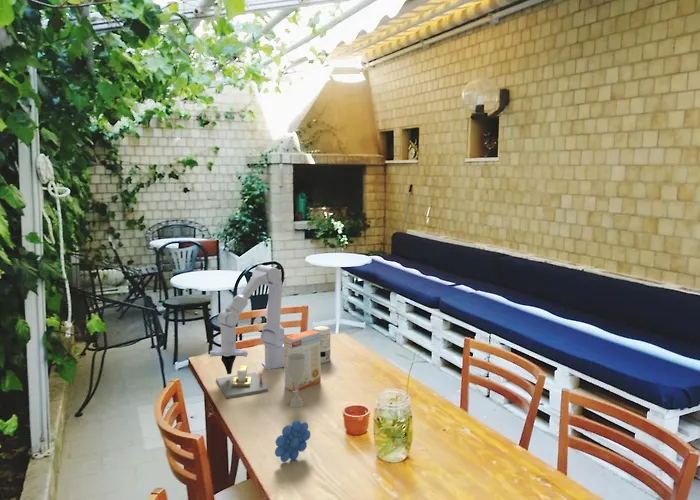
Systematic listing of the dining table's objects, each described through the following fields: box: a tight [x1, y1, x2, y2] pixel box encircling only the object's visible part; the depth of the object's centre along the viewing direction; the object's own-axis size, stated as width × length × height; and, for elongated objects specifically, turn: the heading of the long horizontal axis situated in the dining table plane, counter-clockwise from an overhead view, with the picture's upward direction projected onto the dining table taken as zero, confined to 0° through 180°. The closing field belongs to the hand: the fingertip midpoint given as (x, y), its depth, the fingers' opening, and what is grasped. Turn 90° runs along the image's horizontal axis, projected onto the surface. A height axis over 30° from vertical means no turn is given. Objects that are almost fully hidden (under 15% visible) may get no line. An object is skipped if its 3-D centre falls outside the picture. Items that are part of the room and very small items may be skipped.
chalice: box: [287, 353, 306, 408], centre depth 196 cm, size 7×7×18 cm
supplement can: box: [312, 325, 331, 364], centre depth 240 cm, size 8×8×15 cm
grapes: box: [274, 419, 311, 463], centre depth 160 cm, size 12×7×12 cm, turn 124°
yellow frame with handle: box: [232, 364, 252, 387], centre depth 215 cm, size 12×7×4 cm, turn 6°
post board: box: [215, 370, 269, 399], centre depth 213 cm, size 16×18×6 cm
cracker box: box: [283, 329, 322, 393], centre depth 213 cm, size 14×6×21 cm, turn 133°
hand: (229, 373), depth 217 cm, fingers closed
